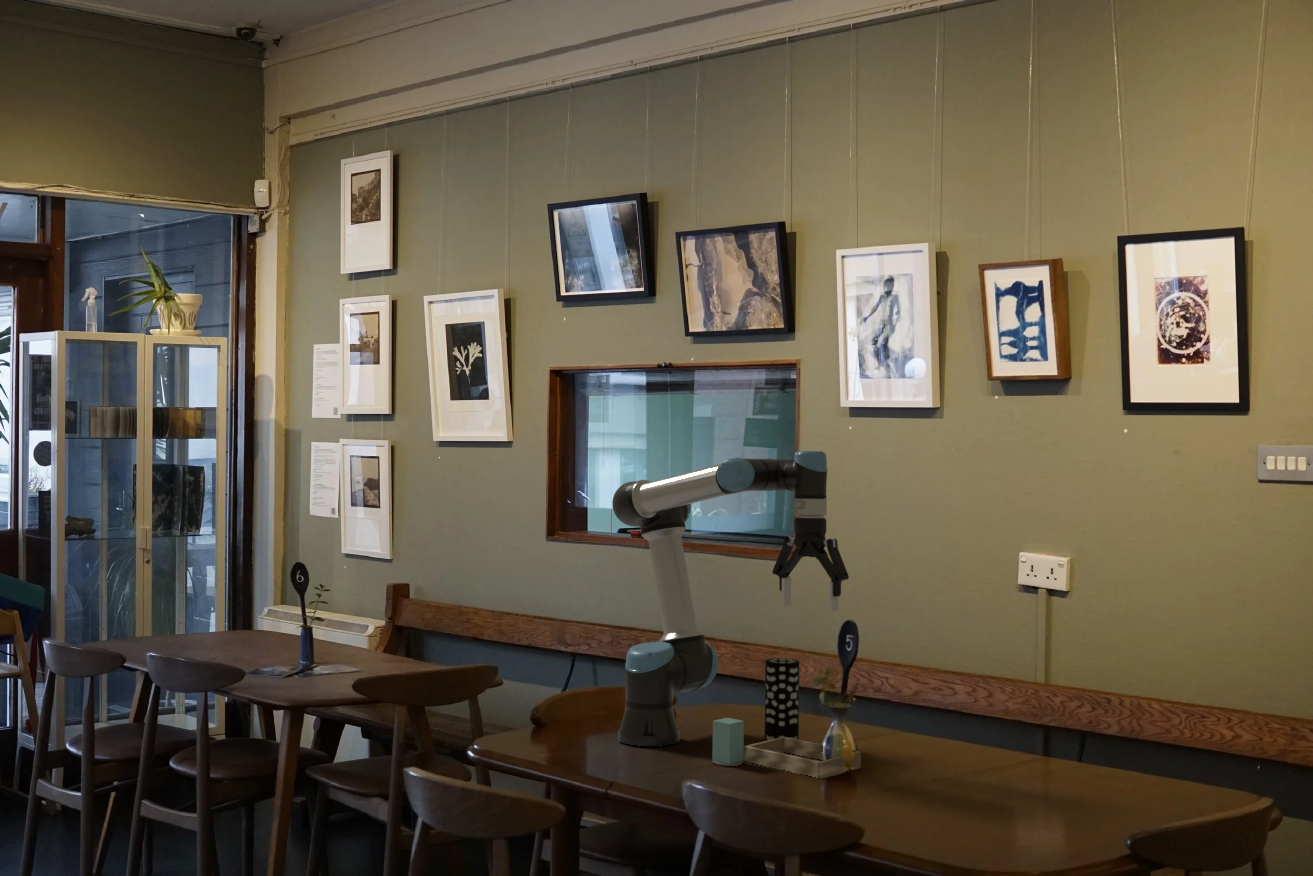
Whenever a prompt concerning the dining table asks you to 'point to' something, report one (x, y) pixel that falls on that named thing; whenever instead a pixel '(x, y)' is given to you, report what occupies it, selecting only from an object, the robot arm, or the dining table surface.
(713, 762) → the coaster
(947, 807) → the dining table surface
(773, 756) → the tray
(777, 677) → the white-spotted black cylinder
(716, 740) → the block
